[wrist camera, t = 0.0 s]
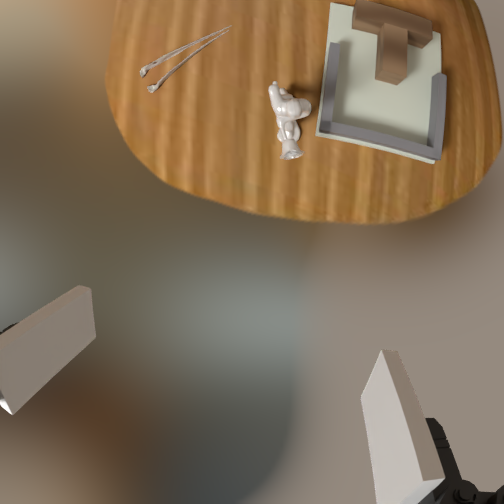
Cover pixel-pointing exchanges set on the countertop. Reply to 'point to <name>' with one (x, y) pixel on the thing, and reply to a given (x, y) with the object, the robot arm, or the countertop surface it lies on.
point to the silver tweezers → (171, 54)
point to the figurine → (288, 119)
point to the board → (381, 94)
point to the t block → (391, 36)
